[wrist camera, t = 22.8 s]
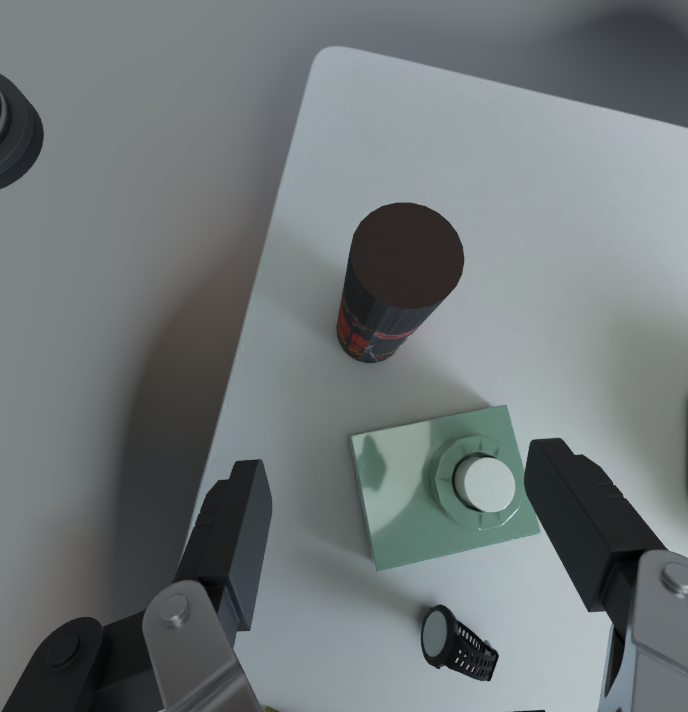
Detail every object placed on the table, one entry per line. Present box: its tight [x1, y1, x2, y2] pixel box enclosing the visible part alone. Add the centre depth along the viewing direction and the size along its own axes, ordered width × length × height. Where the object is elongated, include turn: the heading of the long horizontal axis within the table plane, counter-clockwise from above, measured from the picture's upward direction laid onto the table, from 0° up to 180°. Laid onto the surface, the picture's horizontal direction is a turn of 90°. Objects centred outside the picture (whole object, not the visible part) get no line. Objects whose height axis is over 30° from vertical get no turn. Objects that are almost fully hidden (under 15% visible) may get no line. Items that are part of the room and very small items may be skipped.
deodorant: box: [337, 203, 464, 363], centre depth 27 cm, size 6×6×15 cm
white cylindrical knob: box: [454, 456, 515, 512], centre depth 28 cm, size 4×4×2 cm
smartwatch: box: [421, 605, 499, 681], centre depth 28 cm, size 4×5×5 cm
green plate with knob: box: [348, 405, 541, 571], centre depth 30 cm, size 13×10×4 cm
